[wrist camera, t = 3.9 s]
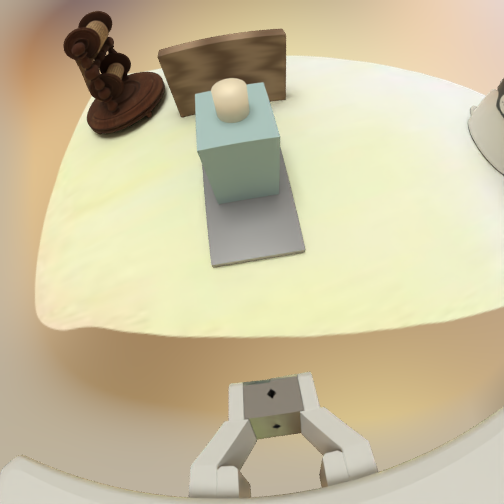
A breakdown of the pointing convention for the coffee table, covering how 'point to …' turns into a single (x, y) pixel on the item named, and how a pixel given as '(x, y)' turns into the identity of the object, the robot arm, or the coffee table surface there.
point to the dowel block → (238, 140)
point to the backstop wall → (225, 65)
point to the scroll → (111, 77)
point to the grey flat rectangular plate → (253, 225)
